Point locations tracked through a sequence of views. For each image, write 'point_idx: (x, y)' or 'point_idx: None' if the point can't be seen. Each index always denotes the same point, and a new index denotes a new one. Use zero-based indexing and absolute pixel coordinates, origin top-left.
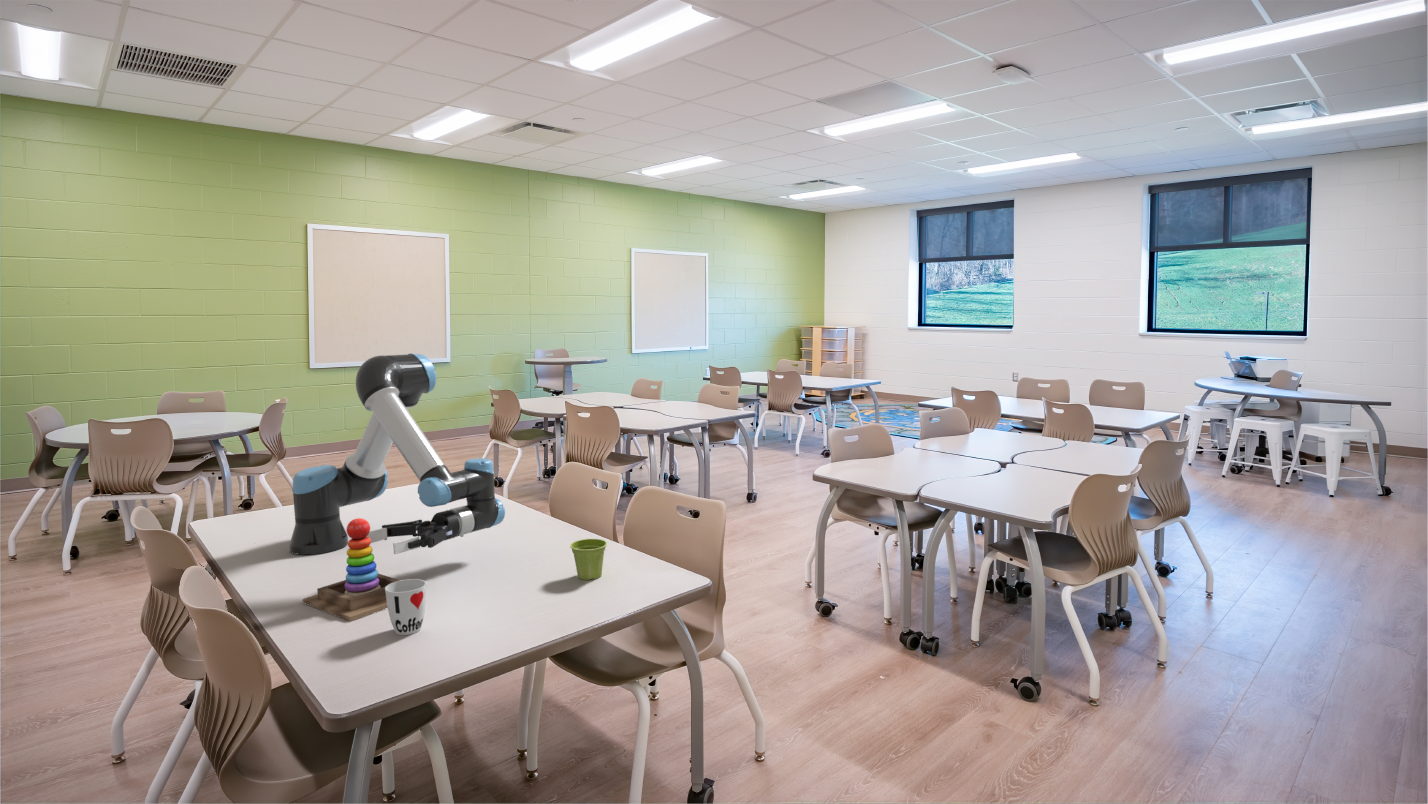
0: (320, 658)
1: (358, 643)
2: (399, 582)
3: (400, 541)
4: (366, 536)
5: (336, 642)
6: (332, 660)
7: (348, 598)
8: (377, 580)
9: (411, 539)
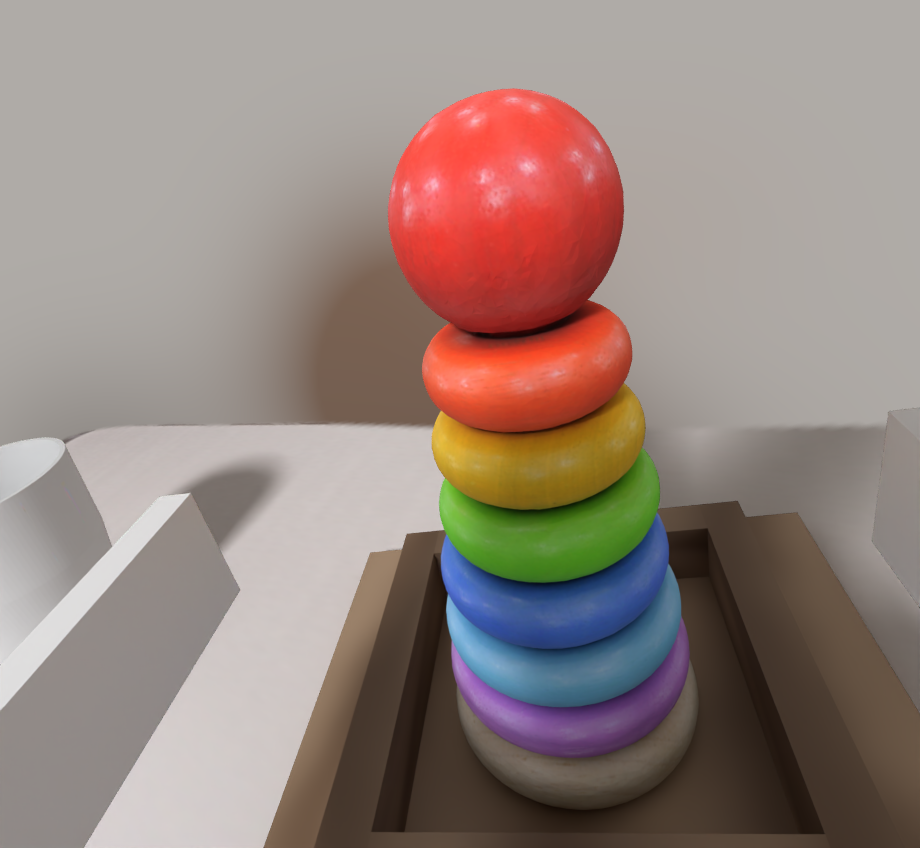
0: (264, 456)
1: (216, 523)
2: (22, 497)
3: (123, 546)
4: (914, 487)
5: (291, 495)
6: (226, 467)
7: (442, 537)
8: (473, 693)
9: (2, 683)
